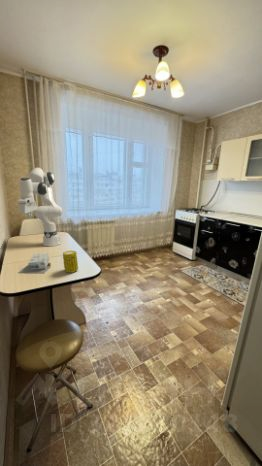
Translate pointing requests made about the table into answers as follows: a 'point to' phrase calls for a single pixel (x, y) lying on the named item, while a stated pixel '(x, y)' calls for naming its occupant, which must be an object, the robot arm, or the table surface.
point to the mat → (28, 270)
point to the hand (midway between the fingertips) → (29, 217)
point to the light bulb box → (39, 261)
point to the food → (70, 261)
